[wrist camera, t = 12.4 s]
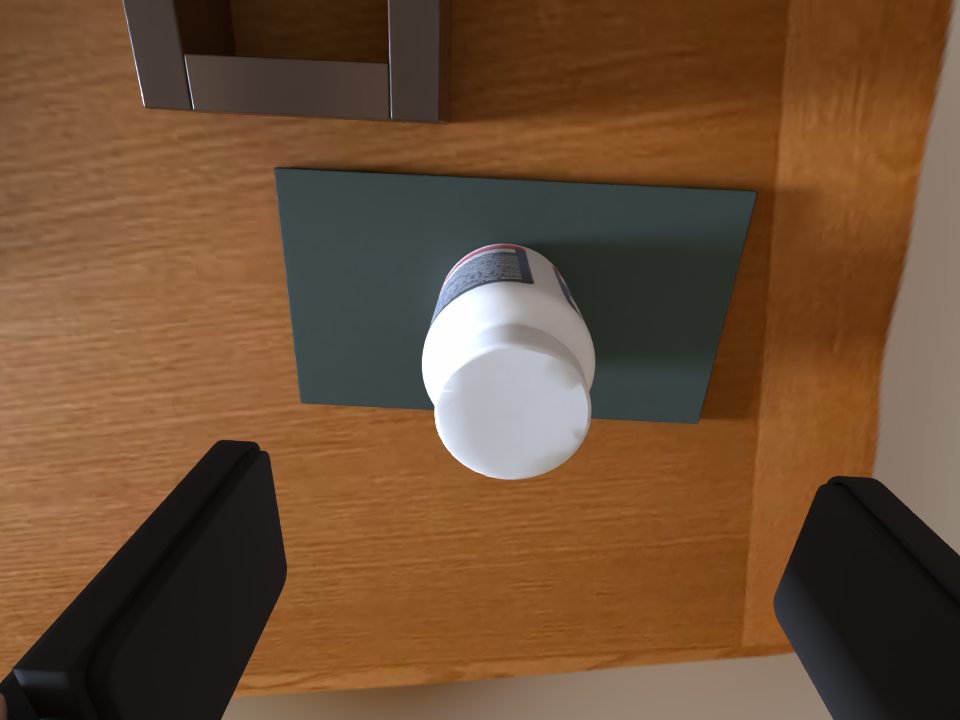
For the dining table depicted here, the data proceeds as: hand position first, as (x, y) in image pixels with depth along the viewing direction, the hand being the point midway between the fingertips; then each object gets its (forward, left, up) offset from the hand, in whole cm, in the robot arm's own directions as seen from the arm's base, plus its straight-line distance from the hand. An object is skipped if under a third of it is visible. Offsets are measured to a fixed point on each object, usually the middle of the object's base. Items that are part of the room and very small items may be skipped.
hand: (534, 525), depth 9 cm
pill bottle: (0, 0, -13) cm, 13 cm away
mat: (0, 0, -13) cm, 13 cm away
